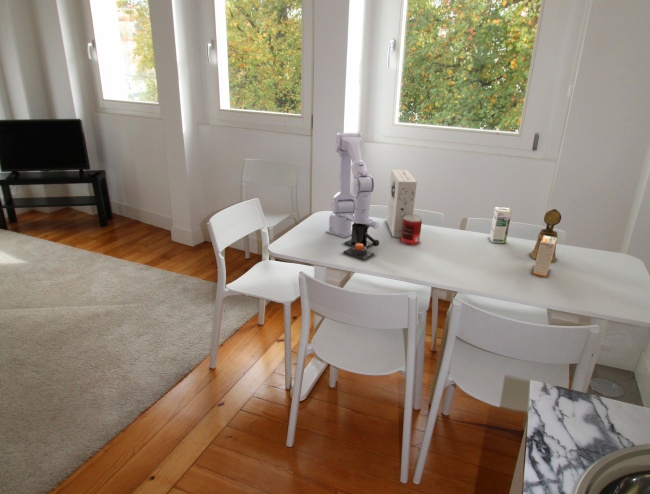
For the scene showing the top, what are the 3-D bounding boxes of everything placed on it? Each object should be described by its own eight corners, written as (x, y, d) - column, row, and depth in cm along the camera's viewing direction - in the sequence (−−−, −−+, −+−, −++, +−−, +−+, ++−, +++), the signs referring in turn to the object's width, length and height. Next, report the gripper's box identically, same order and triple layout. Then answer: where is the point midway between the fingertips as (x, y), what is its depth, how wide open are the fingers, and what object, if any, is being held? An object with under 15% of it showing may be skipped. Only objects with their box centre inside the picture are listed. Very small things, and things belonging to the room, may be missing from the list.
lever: (378, 246, 190) (381, 241, 189) (374, 248, 188) (377, 243, 187) (357, 228, 195) (360, 223, 193) (354, 230, 193) (356, 225, 191)
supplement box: (546, 277, 171) (555, 244, 165) (532, 274, 173) (540, 241, 168) (549, 269, 177) (557, 237, 172) (535, 266, 179) (543, 234, 174)
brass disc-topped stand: (557, 252, 193) (567, 210, 185) (554, 264, 182) (565, 220, 175) (533, 247, 197) (543, 206, 189) (529, 258, 186) (539, 215, 179)
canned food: (418, 239, 203) (421, 214, 198) (420, 246, 196) (423, 221, 191) (400, 238, 203) (402, 214, 199) (401, 244, 196) (404, 220, 192)
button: (353, 248, 184) (353, 244, 184) (358, 246, 187) (358, 242, 186) (360, 251, 183) (360, 246, 182) (364, 248, 185) (365, 244, 184)
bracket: (373, 245, 195) (374, 225, 192) (362, 250, 190) (363, 230, 186) (355, 239, 201) (356, 220, 197) (344, 244, 195) (345, 224, 191)
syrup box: (491, 242, 201) (497, 210, 195) (489, 237, 206) (495, 206, 200) (505, 243, 200) (512, 211, 194) (502, 238, 205) (509, 207, 200)
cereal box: (410, 238, 204) (417, 181, 194) (392, 237, 204) (398, 181, 194) (402, 221, 223) (407, 169, 213) (386, 220, 223) (391, 169, 213)
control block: (343, 253, 186) (343, 246, 185) (353, 248, 191) (354, 242, 190) (364, 261, 180) (364, 253, 179) (374, 255, 185) (374, 248, 184)
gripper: (340, 206, 179) (338, 239, 185) (372, 214, 171) (369, 249, 176) (351, 202, 184) (349, 234, 190) (382, 210, 176) (379, 243, 181)
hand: (359, 241), depth 183 cm, fingers closed
